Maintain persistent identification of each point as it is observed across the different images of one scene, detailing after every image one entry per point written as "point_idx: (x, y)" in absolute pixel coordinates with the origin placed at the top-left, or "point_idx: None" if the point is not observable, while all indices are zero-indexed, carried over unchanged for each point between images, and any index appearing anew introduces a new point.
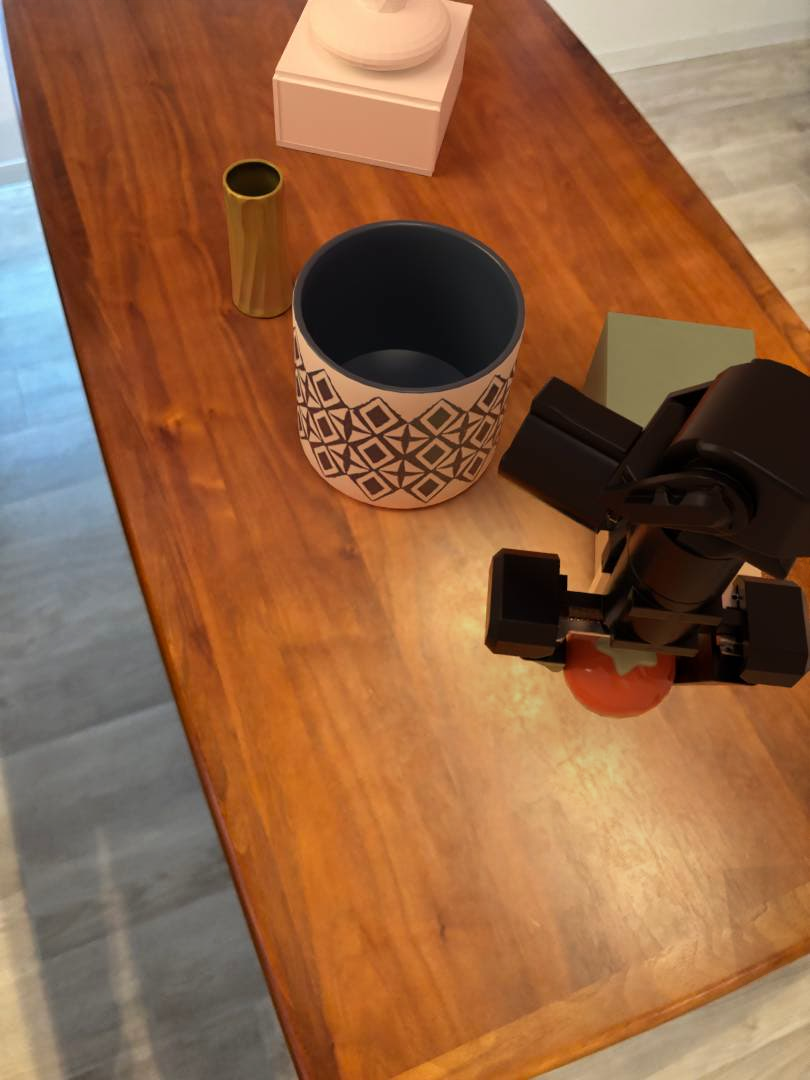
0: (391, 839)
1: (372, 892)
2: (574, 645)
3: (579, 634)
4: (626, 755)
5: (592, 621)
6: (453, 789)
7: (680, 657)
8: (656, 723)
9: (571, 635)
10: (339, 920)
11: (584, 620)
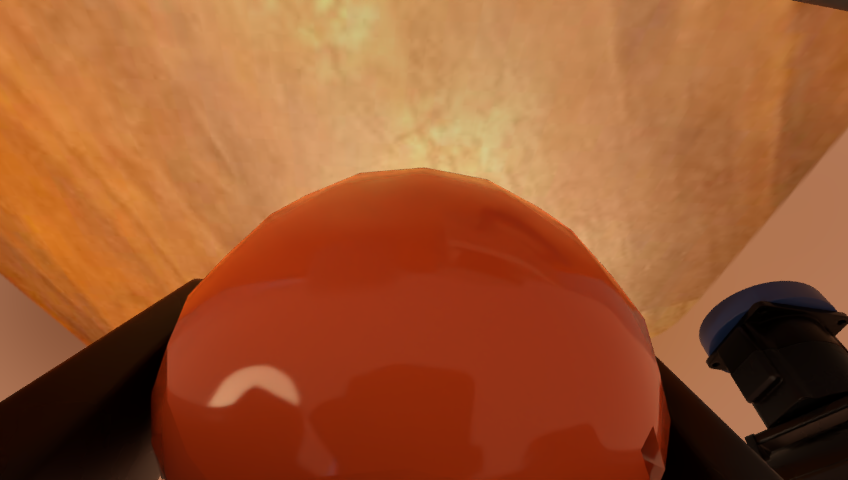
0: (154, 229)
1: (151, 280)
2: (162, 477)
3: (166, 466)
4: (520, 128)
5: (218, 449)
6: (227, 170)
7: (670, 478)
8: (598, 70)
9: (154, 408)
10: (123, 302)
11: (186, 403)
